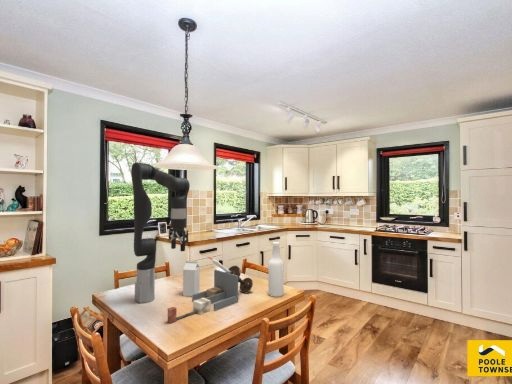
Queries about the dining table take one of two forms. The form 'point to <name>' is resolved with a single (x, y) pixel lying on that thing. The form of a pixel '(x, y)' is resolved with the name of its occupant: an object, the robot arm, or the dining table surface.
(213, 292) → the walnut block
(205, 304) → the corded block
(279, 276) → the alcohol
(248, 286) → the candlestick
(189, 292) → the milk carton
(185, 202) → the robot arm
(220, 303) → the lane rack
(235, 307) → the dining table surface
